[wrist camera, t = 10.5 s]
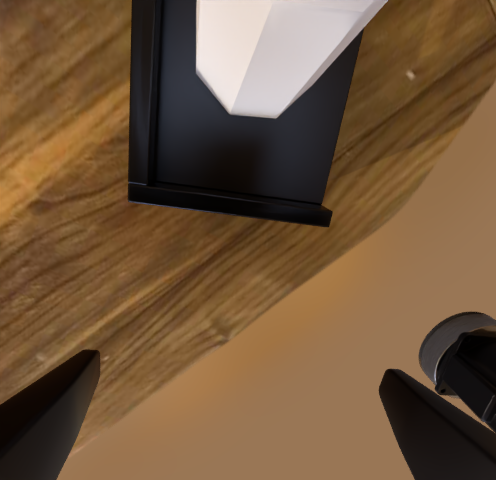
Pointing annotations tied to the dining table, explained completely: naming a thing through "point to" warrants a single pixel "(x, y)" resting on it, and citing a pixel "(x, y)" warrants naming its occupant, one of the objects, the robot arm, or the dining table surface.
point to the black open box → (224, 130)
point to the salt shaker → (272, 48)
